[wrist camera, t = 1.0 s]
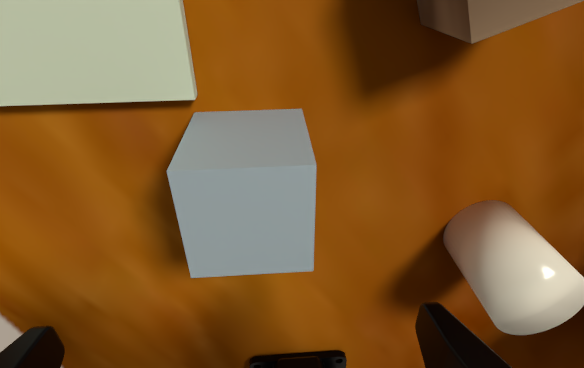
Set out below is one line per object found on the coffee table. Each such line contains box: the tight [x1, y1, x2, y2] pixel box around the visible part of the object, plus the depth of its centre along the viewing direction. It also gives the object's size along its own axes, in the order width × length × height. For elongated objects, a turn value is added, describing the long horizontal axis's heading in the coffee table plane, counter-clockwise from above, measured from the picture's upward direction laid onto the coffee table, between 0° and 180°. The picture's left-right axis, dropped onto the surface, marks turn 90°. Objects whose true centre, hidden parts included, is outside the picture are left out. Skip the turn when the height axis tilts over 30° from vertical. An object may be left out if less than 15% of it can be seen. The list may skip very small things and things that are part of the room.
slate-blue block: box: [167, 109, 316, 278], centre depth 14 cm, size 4×4×5 cm
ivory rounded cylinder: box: [443, 200, 584, 335], centre depth 17 cm, size 4×4×5 cm
